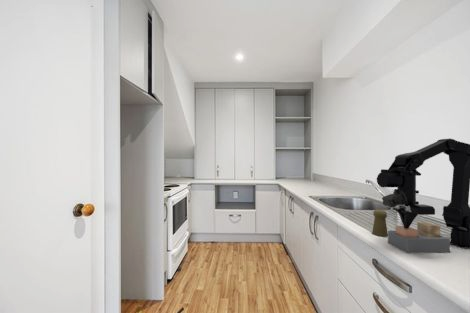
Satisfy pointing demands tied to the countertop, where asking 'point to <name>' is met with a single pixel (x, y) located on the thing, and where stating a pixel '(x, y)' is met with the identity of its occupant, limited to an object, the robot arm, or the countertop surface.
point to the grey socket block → (419, 243)
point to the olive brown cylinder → (380, 223)
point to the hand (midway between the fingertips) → (406, 228)
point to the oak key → (428, 229)
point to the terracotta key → (406, 231)
